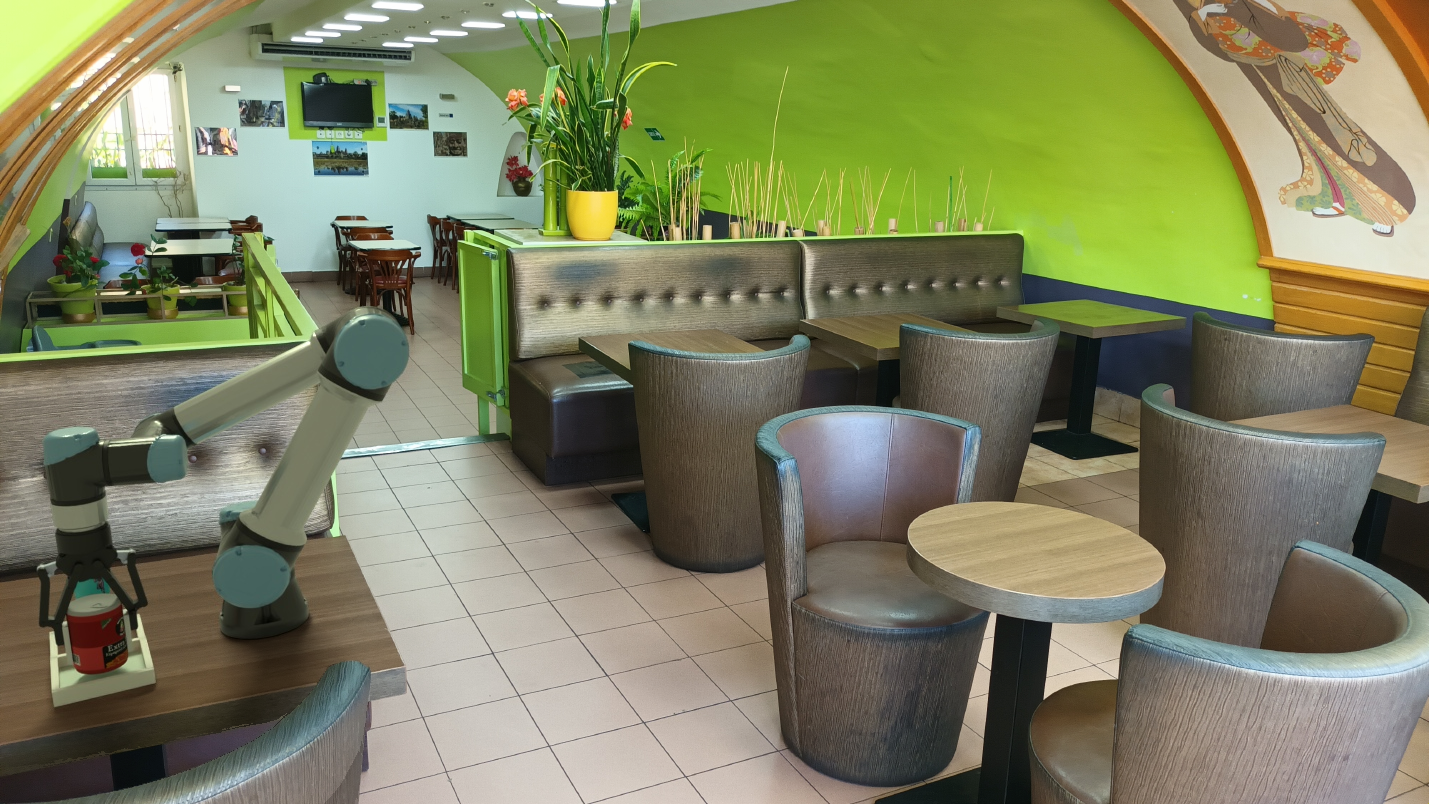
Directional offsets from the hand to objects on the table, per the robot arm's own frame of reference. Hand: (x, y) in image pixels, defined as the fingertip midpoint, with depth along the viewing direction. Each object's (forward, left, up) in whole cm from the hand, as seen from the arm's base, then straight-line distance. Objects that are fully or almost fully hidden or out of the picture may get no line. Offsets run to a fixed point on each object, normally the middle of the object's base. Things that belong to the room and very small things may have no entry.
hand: (100, 654), depth 164 cm
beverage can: (+26, -22, -4) cm, 34 cm away
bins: (+5, -4, -4) cm, 8 cm away
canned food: (0, 0, -2) cm, 2 cm away
